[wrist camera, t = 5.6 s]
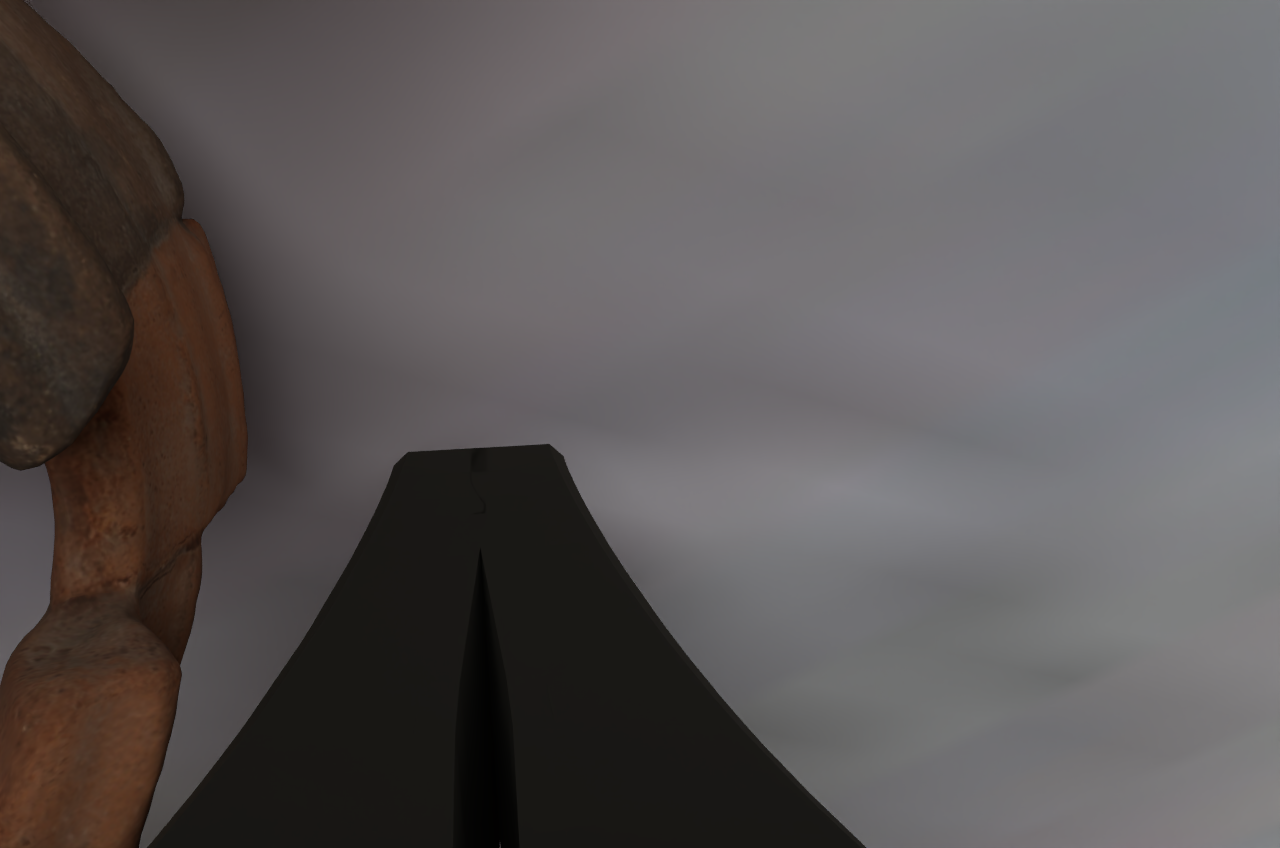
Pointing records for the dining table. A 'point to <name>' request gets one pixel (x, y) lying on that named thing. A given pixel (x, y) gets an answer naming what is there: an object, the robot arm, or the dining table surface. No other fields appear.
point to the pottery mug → (103, 437)
